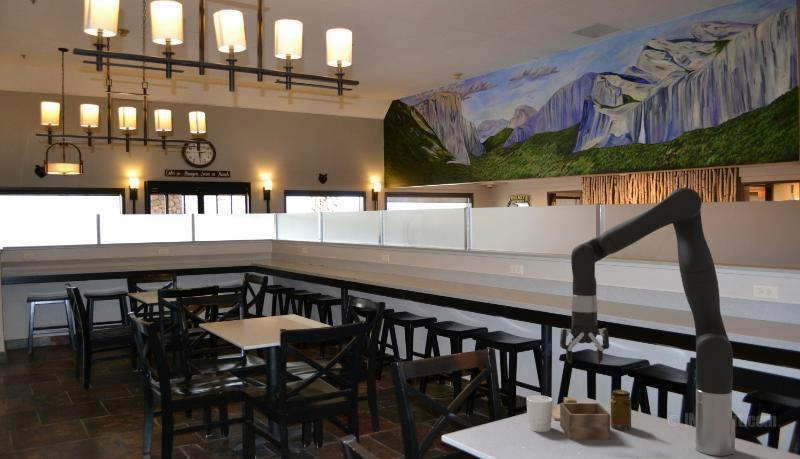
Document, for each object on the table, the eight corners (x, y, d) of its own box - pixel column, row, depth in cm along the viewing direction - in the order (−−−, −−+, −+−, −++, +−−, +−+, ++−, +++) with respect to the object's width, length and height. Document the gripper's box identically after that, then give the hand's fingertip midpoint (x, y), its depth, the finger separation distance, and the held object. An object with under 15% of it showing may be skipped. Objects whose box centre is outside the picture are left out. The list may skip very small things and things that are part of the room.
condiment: (617, 425, 207) (617, 387, 207) (642, 431, 201) (642, 393, 201) (604, 429, 203) (604, 391, 203) (629, 436, 196) (629, 397, 196)
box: (598, 428, 204) (598, 403, 204) (610, 441, 192) (610, 414, 192) (560, 428, 204) (560, 403, 204) (569, 441, 192) (569, 414, 192)
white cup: (557, 432, 200) (557, 400, 200) (535, 436, 197) (535, 403, 197) (542, 425, 207) (542, 394, 207) (521, 428, 205) (521, 396, 204)
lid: (584, 411, 222) (584, 393, 222) (595, 423, 209) (595, 404, 209) (546, 411, 223) (546, 393, 223) (554, 423, 210) (554, 404, 210)
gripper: (563, 311, 194) (563, 365, 194) (611, 311, 193) (611, 365, 194) (558, 307, 201) (558, 360, 202) (604, 307, 201) (604, 359, 201)
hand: (584, 362), depth 198 cm, fingers open, 8 cm apart
